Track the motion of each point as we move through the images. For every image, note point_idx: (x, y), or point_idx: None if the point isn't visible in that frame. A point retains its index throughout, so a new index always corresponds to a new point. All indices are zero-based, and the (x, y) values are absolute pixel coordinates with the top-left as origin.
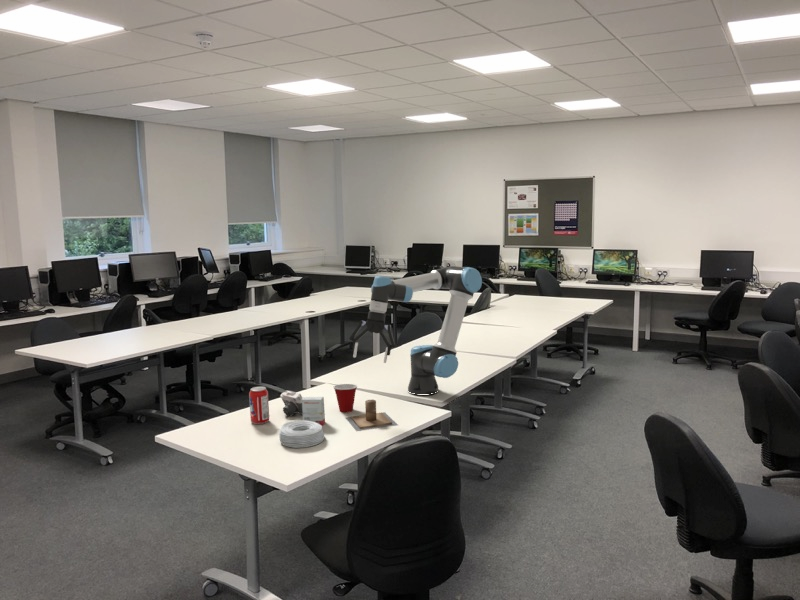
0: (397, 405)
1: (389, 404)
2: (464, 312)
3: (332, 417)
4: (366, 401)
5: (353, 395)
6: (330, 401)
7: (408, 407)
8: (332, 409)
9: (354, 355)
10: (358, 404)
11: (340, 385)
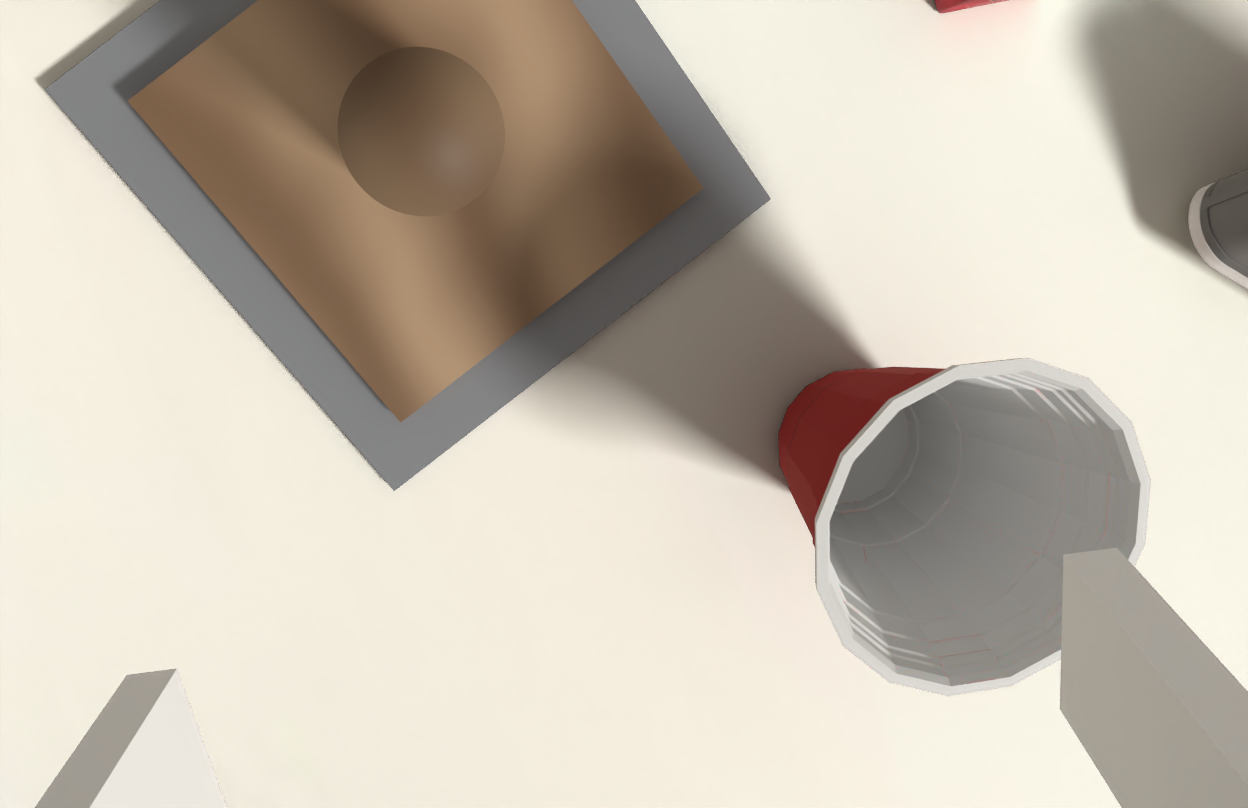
0: (354, 778)
1: (457, 783)
2: None
3: (920, 212)
4: (480, 109)
5: (812, 475)
6: None
7: None
8: None
9: (1106, 587)
10: (793, 685)
11: None
